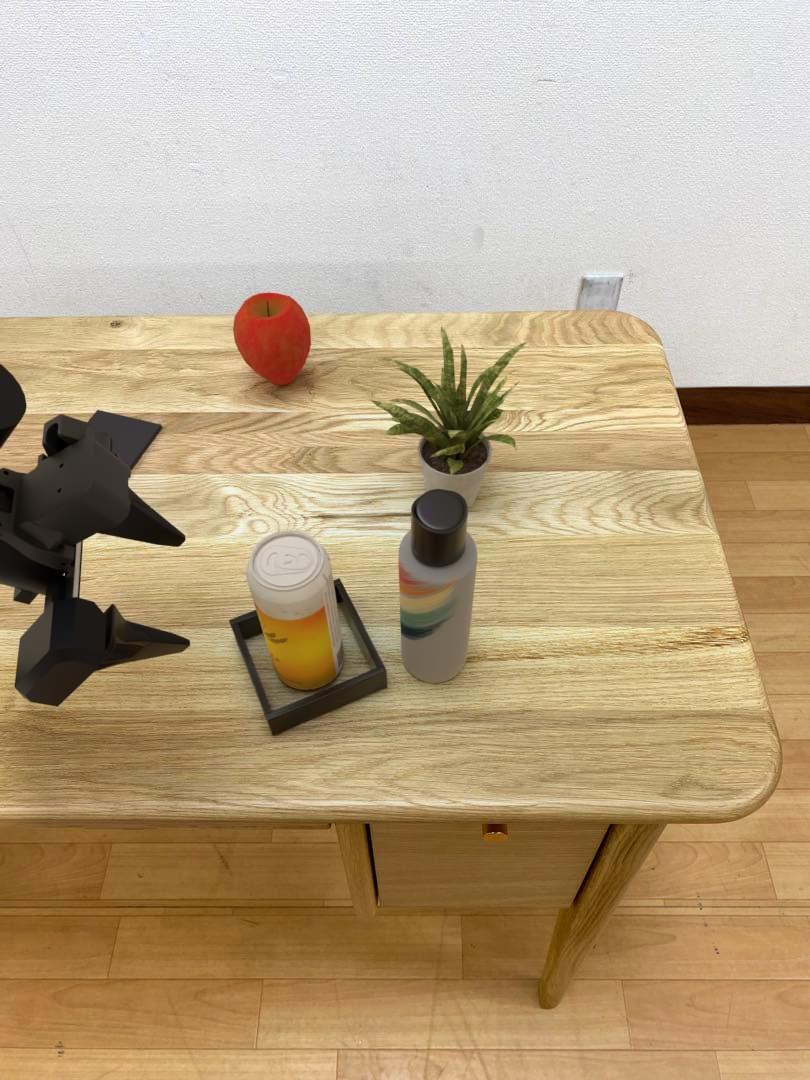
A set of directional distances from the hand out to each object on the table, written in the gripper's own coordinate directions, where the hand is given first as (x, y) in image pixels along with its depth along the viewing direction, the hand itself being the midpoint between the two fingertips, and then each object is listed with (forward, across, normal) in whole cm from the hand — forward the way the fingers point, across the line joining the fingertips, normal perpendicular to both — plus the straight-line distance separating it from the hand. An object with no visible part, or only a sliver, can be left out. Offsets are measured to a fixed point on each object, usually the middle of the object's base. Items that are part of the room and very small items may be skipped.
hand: (184, 591), depth 55 cm
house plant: (+27, +17, -8) cm, 33 cm away
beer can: (+15, 0, +4) cm, 15 cm away
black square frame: (+15, 0, +4) cm, 15 cm away
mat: (+2, +31, +16) cm, 35 cm away
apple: (+16, +37, +3) cm, 41 cm away
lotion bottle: (+22, -2, -3) cm, 23 cm away
